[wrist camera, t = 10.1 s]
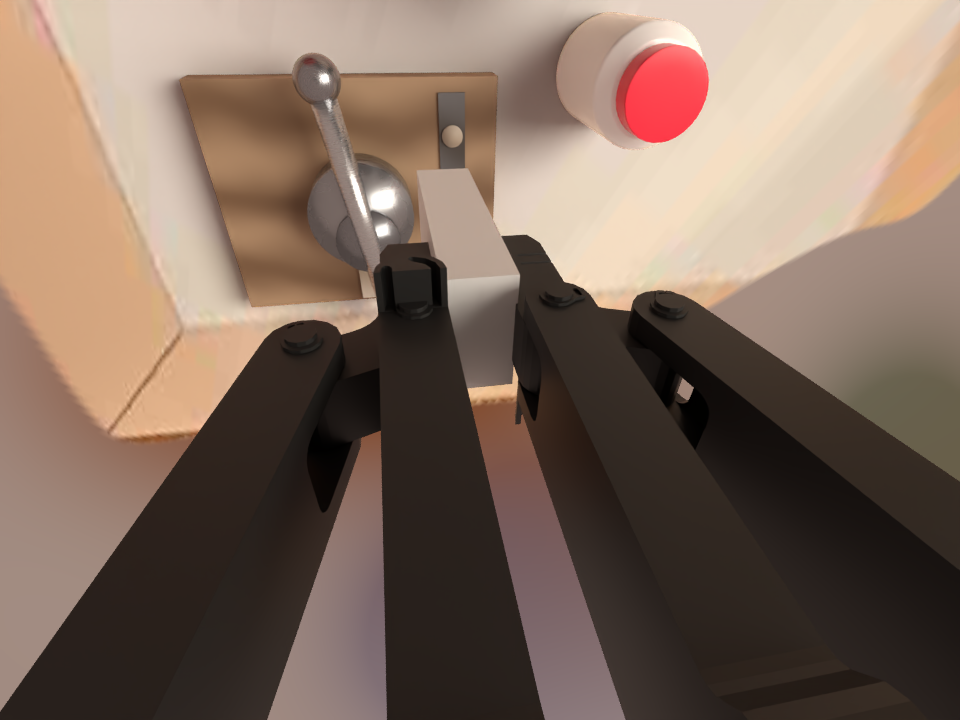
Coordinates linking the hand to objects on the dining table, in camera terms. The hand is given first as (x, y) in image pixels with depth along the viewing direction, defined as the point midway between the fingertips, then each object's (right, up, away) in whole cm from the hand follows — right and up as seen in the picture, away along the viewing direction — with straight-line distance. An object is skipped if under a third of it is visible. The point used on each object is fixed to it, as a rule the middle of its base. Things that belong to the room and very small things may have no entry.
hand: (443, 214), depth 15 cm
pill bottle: (+11, +19, +24) cm, 33 cm away
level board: (-9, +10, +27) cm, 30 cm away
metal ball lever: (-9, +8, +25) cm, 28 cm away
